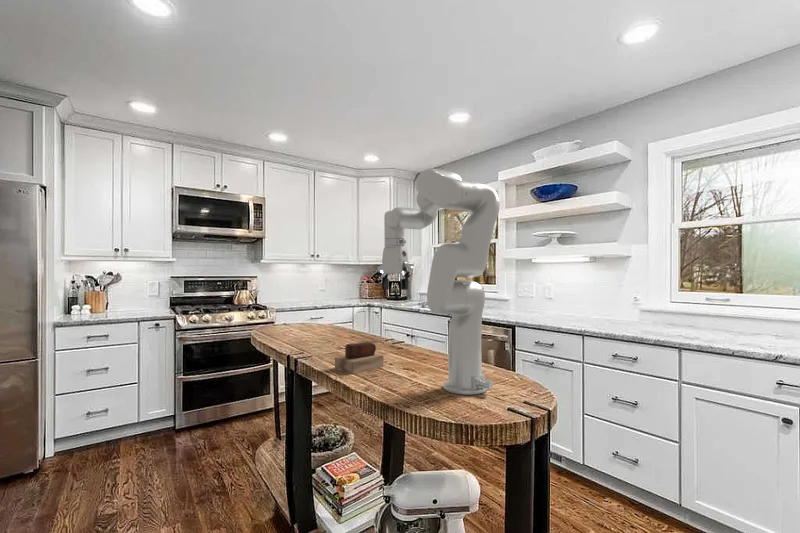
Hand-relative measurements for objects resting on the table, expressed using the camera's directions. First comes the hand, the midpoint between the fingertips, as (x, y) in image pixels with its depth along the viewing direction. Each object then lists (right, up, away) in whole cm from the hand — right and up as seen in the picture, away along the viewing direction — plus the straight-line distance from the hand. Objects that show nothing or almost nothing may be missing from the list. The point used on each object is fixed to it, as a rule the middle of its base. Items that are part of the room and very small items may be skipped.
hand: (394, 289), depth 152 cm
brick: (-12, -24, -8) cm, 28 cm away
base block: (-13, -28, -8) cm, 31 cm away
